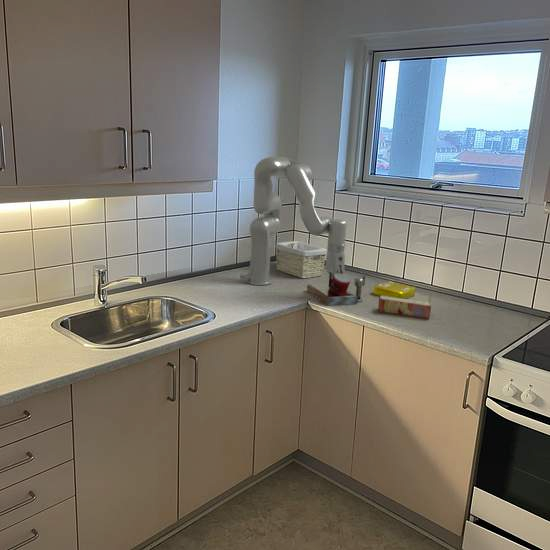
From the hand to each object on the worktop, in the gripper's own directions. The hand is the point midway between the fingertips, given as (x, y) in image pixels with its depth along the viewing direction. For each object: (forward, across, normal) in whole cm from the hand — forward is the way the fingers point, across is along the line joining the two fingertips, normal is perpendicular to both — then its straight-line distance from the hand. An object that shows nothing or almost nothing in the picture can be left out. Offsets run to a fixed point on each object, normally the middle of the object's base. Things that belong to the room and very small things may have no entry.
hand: (332, 287), depth 248 cm
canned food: (+4, -4, 0) cm, 5 cm away
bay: (+4, +1, 0) cm, 5 cm away
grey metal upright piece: (+4, -8, -9) cm, 13 cm away
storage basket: (+5, +43, -3) cm, 44 cm away
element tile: (+5, -3, -32) cm, 32 cm away
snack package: (+5, -28, -19) cm, 34 cm away
